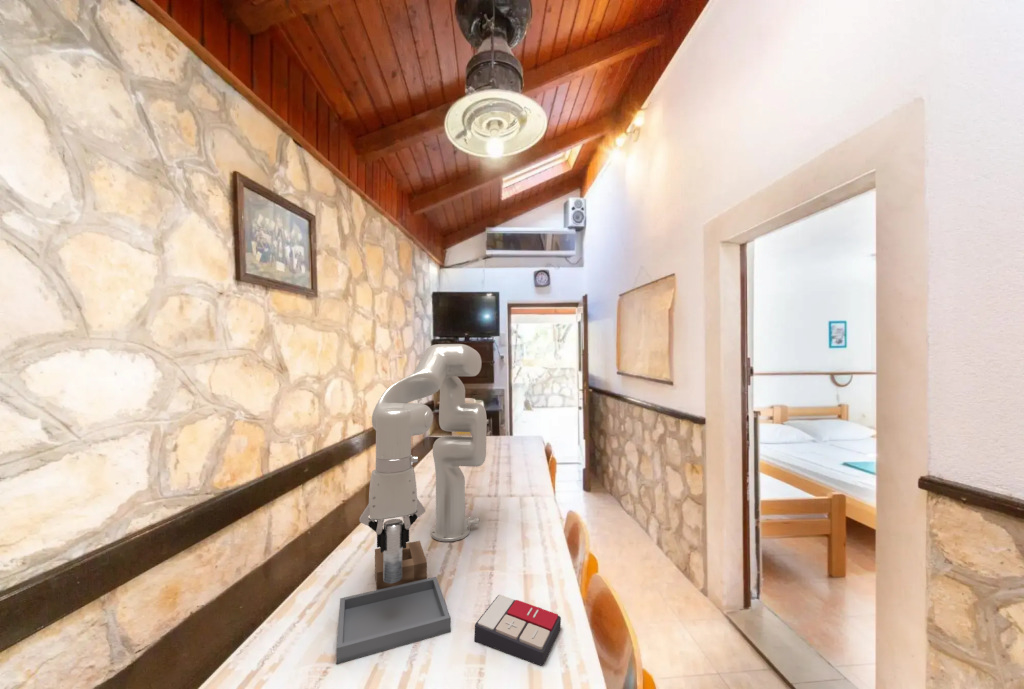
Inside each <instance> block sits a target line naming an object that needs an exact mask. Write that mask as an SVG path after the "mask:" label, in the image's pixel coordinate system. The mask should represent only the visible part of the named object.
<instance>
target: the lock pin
mask: <svg viewBox="0 0 1024 689" xmlns="http://www.w3.org/2000/svg"><path fill="white" fill-rule="evenodd" d="M403 523H404V521H403V520H402V519H400V518H390V519H387V520H386V521H384V523H383V529H384V552H383V581H384V582H385V583H395V582H398V581H400V580H401V579H402V529H403Z"/></svg>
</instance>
